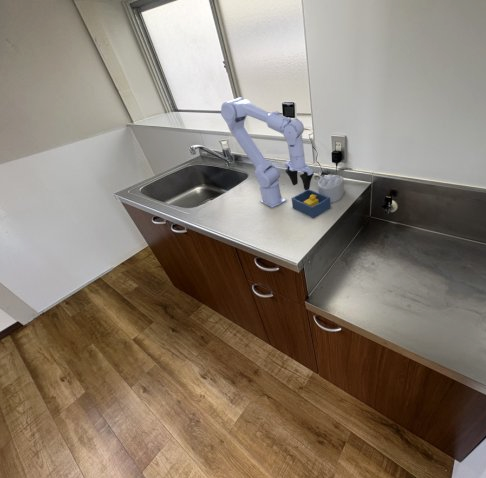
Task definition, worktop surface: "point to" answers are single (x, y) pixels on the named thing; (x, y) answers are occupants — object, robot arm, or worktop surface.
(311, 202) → the duck
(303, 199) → the open box
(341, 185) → the lumpy-topped squat cylinder
